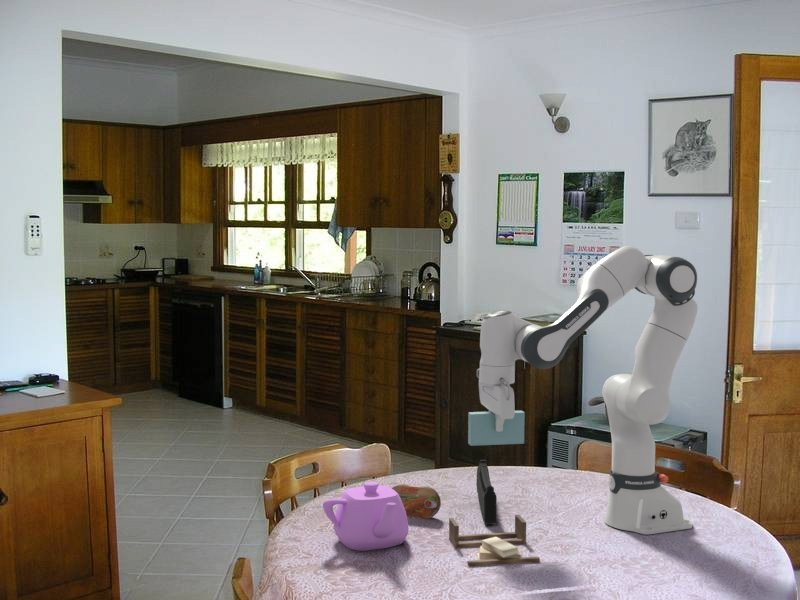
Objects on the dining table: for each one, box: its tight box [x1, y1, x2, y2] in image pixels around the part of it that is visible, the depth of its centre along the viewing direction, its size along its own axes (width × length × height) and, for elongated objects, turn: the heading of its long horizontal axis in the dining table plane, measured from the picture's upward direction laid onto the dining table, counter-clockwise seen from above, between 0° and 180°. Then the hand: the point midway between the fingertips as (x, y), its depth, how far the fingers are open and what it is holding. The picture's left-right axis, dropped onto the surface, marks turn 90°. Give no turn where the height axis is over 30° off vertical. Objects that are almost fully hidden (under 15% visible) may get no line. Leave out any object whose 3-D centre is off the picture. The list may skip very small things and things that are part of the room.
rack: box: [448, 514, 541, 567], centre depth 213 cm, size 18×18×6 cm
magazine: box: [475, 459, 498, 525], centre depth 244 cm, size 17×3×30 cm
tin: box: [391, 483, 442, 520], centre depth 240 cm, size 15×3×8 cm, turn 68°
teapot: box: [322, 481, 409, 552], centre depth 215 cm, size 23×21×15 cm
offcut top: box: [481, 537, 519, 558], centre depth 208 cm, size 8×4×2 cm, turn 31°
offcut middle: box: [478, 546, 520, 560], centre depth 209 cm, size 9×5×2 cm, turn 82°
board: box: [467, 410, 526, 447], centre depth 224 cm, size 14×2×8 cm, turn 100°
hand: (496, 429), depth 224 cm, fingers closed on board, 2 cm apart
